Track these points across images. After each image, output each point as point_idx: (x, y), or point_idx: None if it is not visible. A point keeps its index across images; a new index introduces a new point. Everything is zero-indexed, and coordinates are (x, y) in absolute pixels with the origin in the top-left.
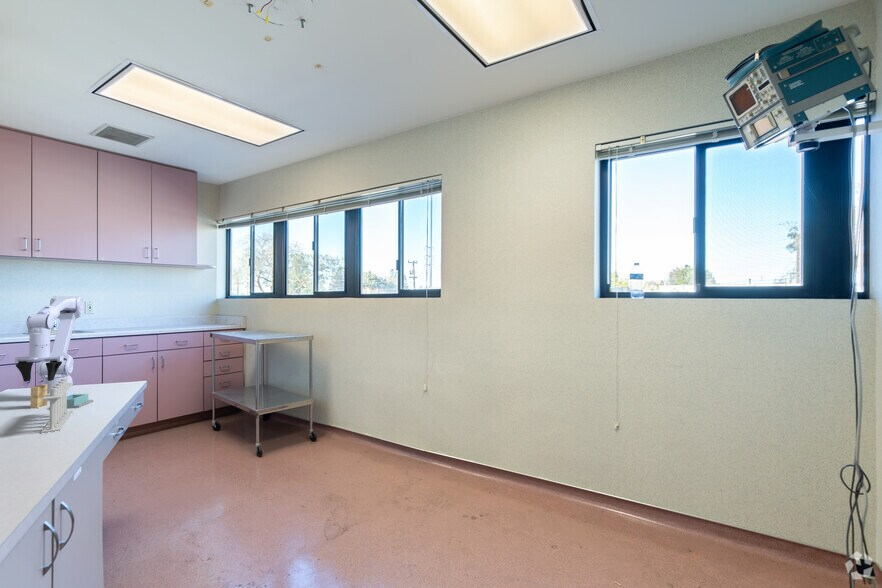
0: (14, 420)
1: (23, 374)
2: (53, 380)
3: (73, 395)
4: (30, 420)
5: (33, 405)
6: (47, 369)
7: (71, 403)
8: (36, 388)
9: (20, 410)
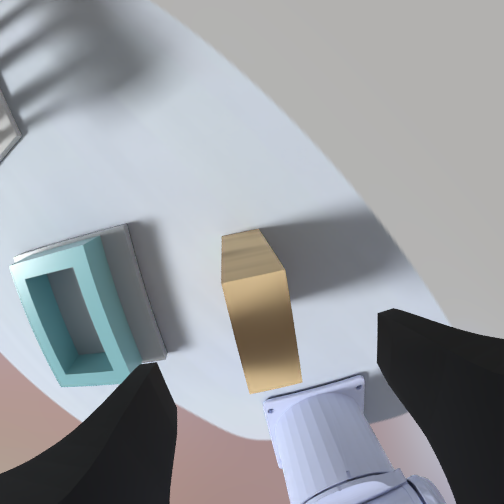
0: (128, 14)
1: (442, 336)
2: (324, 475)
3: (111, 369)
4: (58, 31)
5: (243, 234)
6: (97, 457)
7: (32, 256)
8: (233, 277)
9: (282, 188)
